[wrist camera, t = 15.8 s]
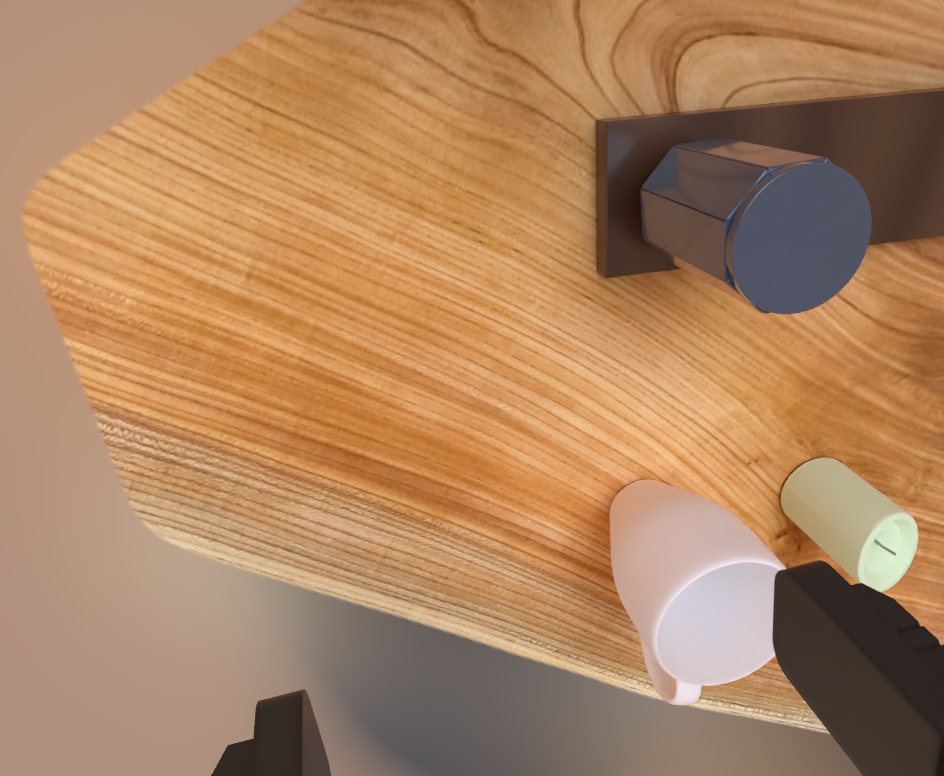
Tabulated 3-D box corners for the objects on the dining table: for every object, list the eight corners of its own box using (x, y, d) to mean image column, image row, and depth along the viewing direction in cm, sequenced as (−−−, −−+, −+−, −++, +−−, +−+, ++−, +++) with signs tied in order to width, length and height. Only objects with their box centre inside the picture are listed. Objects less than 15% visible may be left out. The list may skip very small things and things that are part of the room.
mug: (591, 449, 47) (671, 559, 37) (713, 451, 49) (822, 556, 39) (560, 609, 52) (624, 746, 41) (673, 604, 53) (762, 735, 43)
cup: (617, 217, 38) (702, 261, 30) (696, 114, 37) (807, 129, 28) (698, 284, 40) (798, 341, 32) (776, 188, 39) (900, 222, 31)
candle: (837, 443, 51) (928, 508, 43) (854, 497, 53) (944, 569, 45) (770, 480, 51) (850, 552, 43) (790, 533, 53) (869, 610, 46)
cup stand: (596, 271, 43) (695, 344, 32) (596, 119, 39) (706, 142, 28) (947, 228, 46) (1144, 280, 35) (973, 84, 43) (1200, 93, 32)
